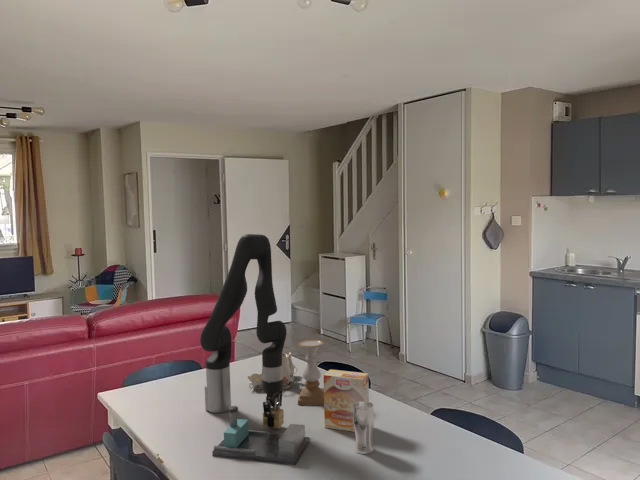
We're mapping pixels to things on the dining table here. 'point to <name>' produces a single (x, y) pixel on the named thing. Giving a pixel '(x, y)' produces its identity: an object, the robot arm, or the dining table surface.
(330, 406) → the coffeecake box
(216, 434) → the dining table surface
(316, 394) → the candle holder
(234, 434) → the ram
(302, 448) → the frame
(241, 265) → the robot arm
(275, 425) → the block
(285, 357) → the chinaware
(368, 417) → the beer glass
